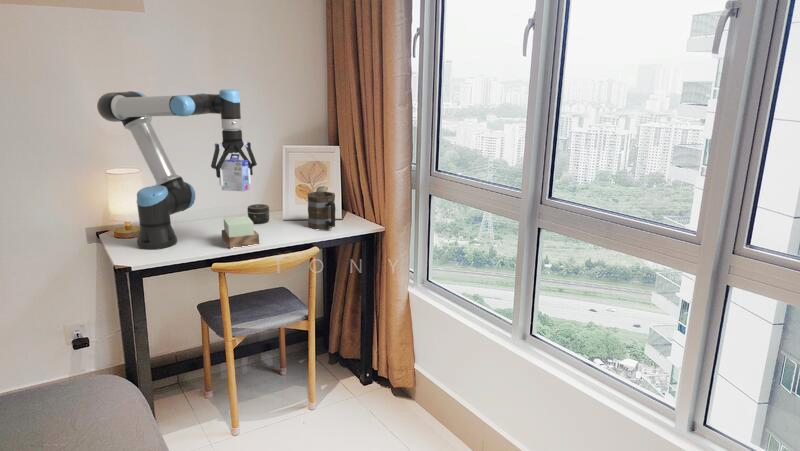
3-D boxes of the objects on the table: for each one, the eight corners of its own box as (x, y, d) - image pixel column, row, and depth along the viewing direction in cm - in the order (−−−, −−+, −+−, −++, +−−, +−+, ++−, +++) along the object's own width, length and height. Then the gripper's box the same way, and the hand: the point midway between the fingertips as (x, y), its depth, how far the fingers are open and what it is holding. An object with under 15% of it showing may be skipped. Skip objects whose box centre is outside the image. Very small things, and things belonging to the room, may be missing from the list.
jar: (245, 224, 262) (244, 208, 260) (251, 218, 272) (250, 203, 270) (266, 225, 262) (265, 209, 260) (272, 219, 271) (271, 204, 269)
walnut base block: (230, 249, 227) (229, 238, 225) (222, 241, 237) (221, 230, 236) (259, 245, 232) (258, 234, 231) (250, 237, 243) (249, 226, 242)
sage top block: (229, 237, 226) (228, 225, 225) (224, 229, 237) (223, 218, 235) (254, 234, 230) (253, 222, 229) (248, 227, 241) (247, 216, 240)
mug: (302, 224, 264) (301, 193, 260) (328, 220, 271) (327, 190, 267) (320, 234, 248) (319, 201, 244) (347, 230, 255) (347, 198, 251)
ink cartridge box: (250, 189, 230) (248, 154, 226) (244, 192, 225) (241, 156, 221) (228, 187, 232) (225, 153, 228) (221, 190, 227) (218, 155, 223)
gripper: (203, 131, 213) (208, 188, 219) (263, 129, 224) (265, 183, 230) (199, 129, 219) (204, 185, 225) (257, 127, 231) (260, 180, 237)
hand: (235, 184), depth 228 cm, fingers closed on ink cartridge box, 10 cm apart
